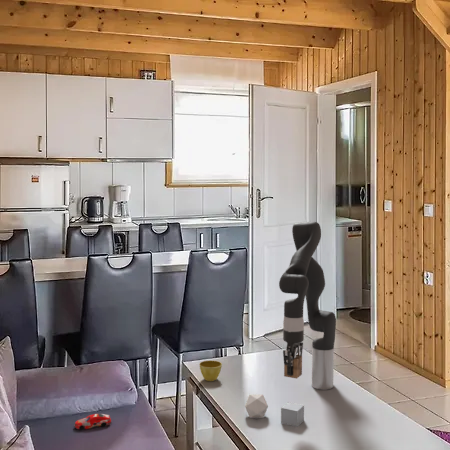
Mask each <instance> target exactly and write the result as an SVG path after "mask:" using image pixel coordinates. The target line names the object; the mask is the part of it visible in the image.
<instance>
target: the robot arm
mask: <svg viewBox="0 0 450 450" xmlns="http://www.w3.org/2000/svg"><path fill="white" fill-rule="evenodd" d="M291 229H292V230H291V231H292V232H291V233H292V239H293V243H294V246H295V247H294V248H295V250H296V251H295V252H294V254H293V255H292V257H291V259H290V262H289V265H288V267H287V268H286V269H285V271H284V272H283V273H282V275H281V277H280V278H279V281H278V287H279V290H280V291H281V292H282V293H283V294H291V295H292V294H293V295H297V297H295V298H291V299H286V300H285V301H284V303H283V304H284V305H283V321H282V323H283V324H282V325H283V327H282V328H283V330H282V336H283V337H282V339H283V341H284V342H285V343H286V347H285V349H283V350H282V355H283V366H284V365H287V375H289V376H292V375H293V364H294V359H296V356H302V357H303V349H304V337H305V336H304V335H305V333H304V331H305V322H304V304H305V303H306V311H307V319H308V320H307V321H308V326H309V328H310V330H312V331H313V332H318V333H323V336H322V337H319V338H315V339H313V341H312V347H311V349H312V352H311V353H312V354H311V355H312V356H311V387H312V388H314V389H316V390H324V391H325V390H332V389H333V388H334V370H335V369H334V361H335V359H334V358H335V357H334V356H335V355H334V354H335V351H334V350H335V340H336V328H337V327H336V326H337V316H336V314H335V312H332V311H327V310H321V309H320V308H319V299H320V297H321V296H322V294H323V292H324V291H325V286H326V280H325V273H324V269H323V267H322V266H321V265H320V264H319V263H318V261H317V260H316V259H315V258H314V257H313V256H314V253H315V252H316V251H317V247H318V246H319V244H320V242H321V238H322V229H321V225H320V224H319V222H318V221H303V222H295V223H294V224H293V225H292V227H291ZM305 301H306V302H305ZM291 356H293V357H291ZM291 359H292V361H291Z"/></svg>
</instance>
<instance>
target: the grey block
mask: <svg viewBox="0 0 450 450" xmlns="http://www.w3.org/2000/svg"><path fill="white" fill-rule="evenodd" d="M304 421H305V405H304V404H300V403H295V402H290V401H287V402H286V403H285V404H284V405H283V406H281V407H280V424H283V425H286V426H287V425H288V426H292V427H295V428H297V427H298V426H299V425H301V424H302V423H303V422H304Z"/></svg>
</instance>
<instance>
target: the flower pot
mask: <svg viewBox="0 0 450 450" xmlns="http://www.w3.org/2000/svg"><path fill="white" fill-rule="evenodd" d="M222 365H223V364H222V362H221V361H218V360H203V361H201V362H199V370H200V373H201V375H202V378H203V379H204V380H205V381H207V382H214V380H215V381H216V380H217V379H218V377H219V375H220V374H221V370H222V367H223V366H222Z"/></svg>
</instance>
